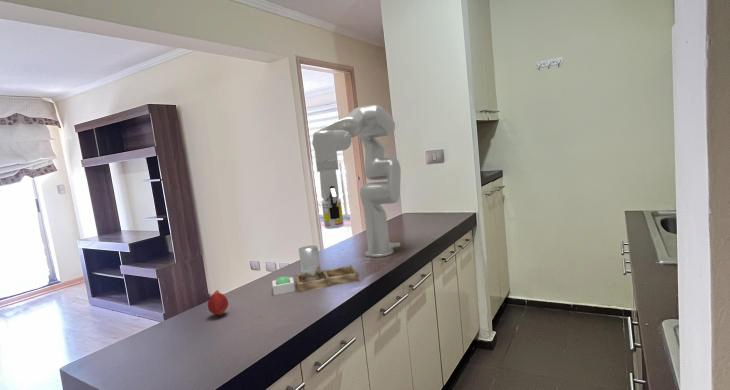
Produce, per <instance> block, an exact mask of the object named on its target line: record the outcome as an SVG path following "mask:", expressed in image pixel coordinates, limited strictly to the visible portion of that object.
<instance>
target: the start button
mask: <svg viewBox="0 0 730 390" xmlns="http://www.w3.org/2000/svg"><path fill="white" fill-rule="evenodd" d="M289 278H290V277H289V276H288V275H287V276H285V275H283V276H279V277H277V278H276V280H277V285H279V284H284V283H289Z"/></svg>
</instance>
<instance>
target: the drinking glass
mask: <svg viewBox="0 0 730 390" xmlns="http://www.w3.org/2000/svg"><path fill="white" fill-rule="evenodd" d="M298 255H299V263H300V270H301V275H302V279H303V283H304V282H309V281H315V280H320V279H322V278H321V271H322V270H321V263H320V262H321V261H320V255H319V246H318V245H305V246H302V247H300V248H298Z"/></svg>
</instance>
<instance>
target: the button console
mask: <svg viewBox="0 0 730 390" xmlns="http://www.w3.org/2000/svg"><path fill="white" fill-rule="evenodd" d="M288 278H289V283H284V284H279V285H277V279H274V280H272V281H271V282H272V283H271V284H272V291H273V292H272V293H273V296H278V295H279V296H280V295H284V294H288V293H290V294H291V293H294V292H295V293H296V289H295V282H294V277H292V276H291V277H288Z"/></svg>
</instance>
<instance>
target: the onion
mask: <svg viewBox="0 0 730 390" xmlns="http://www.w3.org/2000/svg"><path fill="white" fill-rule="evenodd" d="M228 306H229V300H228V298H227V297H226V295H225V294H223V293H221V292H219V290H218V289H216V290H215V291H214V292H213V294H212V295H211V296H210V297H209V299H208V301H207V308H208V311H209V312H210V313H211V314H213V315H215V316H219V317H220V316H222V315H223V314H224V312H225V311H226V310H227V309H228Z"/></svg>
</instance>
